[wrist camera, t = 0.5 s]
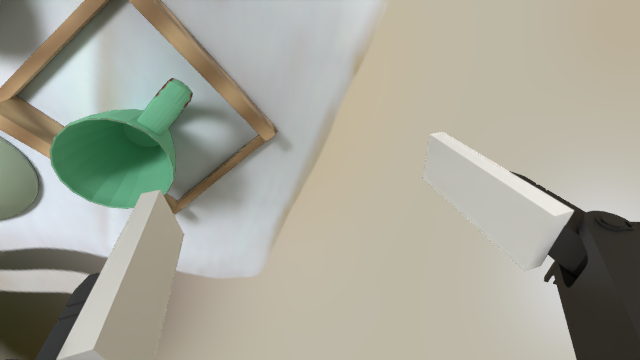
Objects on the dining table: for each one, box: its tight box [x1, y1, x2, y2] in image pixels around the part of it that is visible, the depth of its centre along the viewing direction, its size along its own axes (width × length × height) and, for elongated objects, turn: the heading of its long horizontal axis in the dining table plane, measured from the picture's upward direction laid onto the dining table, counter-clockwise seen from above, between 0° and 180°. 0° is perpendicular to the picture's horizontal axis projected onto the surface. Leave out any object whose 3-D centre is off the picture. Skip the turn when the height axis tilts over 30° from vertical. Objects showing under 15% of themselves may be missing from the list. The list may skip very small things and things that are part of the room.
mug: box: [49, 78, 192, 209], centre depth 29 cm, size 15×10×10 cm
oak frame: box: [0, 0, 278, 214], centre depth 31 cm, size 22×20×4 cm
